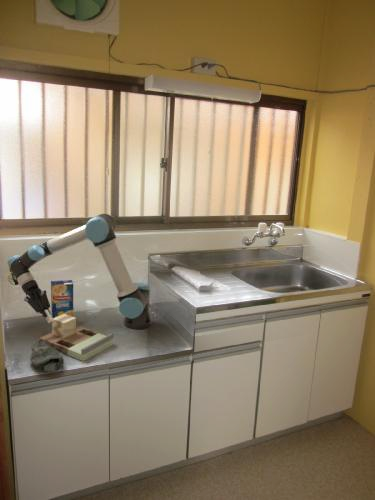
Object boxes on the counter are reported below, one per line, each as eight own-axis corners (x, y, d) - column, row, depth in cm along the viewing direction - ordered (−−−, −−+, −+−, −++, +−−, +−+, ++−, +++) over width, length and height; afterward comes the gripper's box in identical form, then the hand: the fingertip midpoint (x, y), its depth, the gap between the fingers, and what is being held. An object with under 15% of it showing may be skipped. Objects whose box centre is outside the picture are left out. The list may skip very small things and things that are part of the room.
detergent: (67, 370, 181) (53, 344, 201) (66, 355, 178) (52, 330, 199) (35, 379, 174) (24, 351, 195) (34, 364, 172) (23, 337, 193)
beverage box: (73, 322, 228) (73, 284, 222) (52, 324, 224) (51, 285, 218) (72, 317, 234) (72, 280, 229) (51, 319, 230) (50, 281, 224)
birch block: (52, 334, 206) (52, 318, 204) (64, 328, 213) (64, 313, 211) (63, 338, 202) (63, 323, 200) (75, 332, 209) (76, 317, 207)
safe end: (67, 354, 193) (67, 343, 192) (98, 338, 211) (98, 328, 210) (82, 361, 189) (83, 349, 187) (113, 344, 206) (113, 333, 205)
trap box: (39, 343, 202) (39, 337, 201) (71, 328, 220) (71, 323, 219) (67, 354, 193) (67, 348, 192) (98, 338, 211) (98, 333, 210)
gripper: (34, 283, 222) (57, 321, 218) (13, 290, 211) (37, 329, 207) (41, 276, 218) (64, 314, 214) (20, 282, 207) (44, 322, 203)
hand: (51, 321), depth 211 cm, fingers closed
